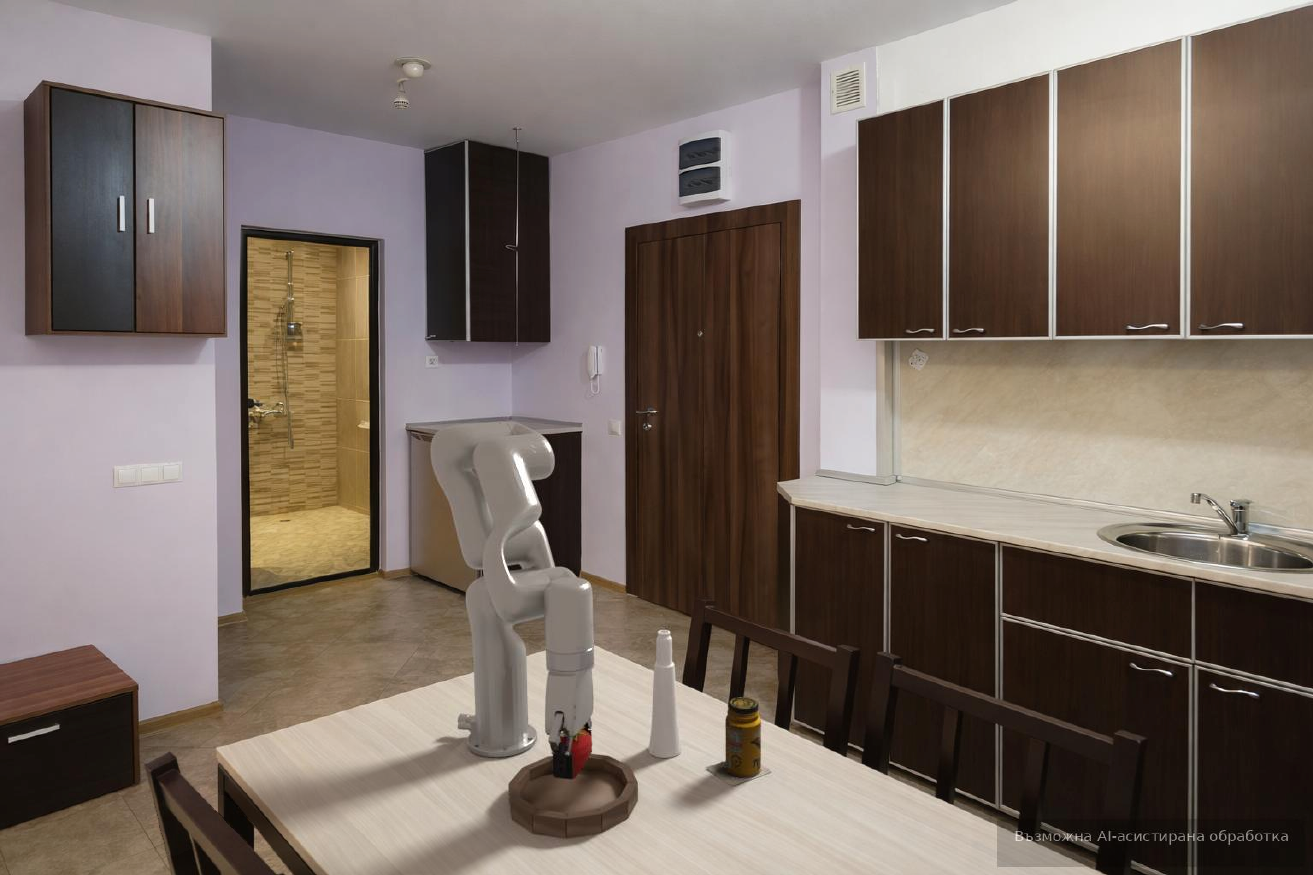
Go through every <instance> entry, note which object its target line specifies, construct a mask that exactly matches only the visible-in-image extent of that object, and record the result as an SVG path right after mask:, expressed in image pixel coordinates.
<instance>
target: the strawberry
mask: <svg viewBox="0 0 1313 875" xmlns="http://www.w3.org/2000/svg"><path fill="white" fill-rule="evenodd" d="M583 728H585V727H582V728H581V730H580V731H579V732H578V733H577V734H576V735H575V736H573V741H572V747H571V753H573V763H574V777H573V778H572V779H575V778H576V777H577V775H578V773H579V772H580V771H581V769H582V768H583V766H584V765H585V763H586V761H587V760H588V758H589V756H590V752H591V748H592V747H593V740H592V739H591V736H590V734H589V733H588V732H587V731H585V730H583ZM561 733H569V730H566V729H562V731H561ZM560 740H561V742H563V743H564V744H565V746H566V742H567V738H562V737H560ZM592 749H593V748H592ZM591 753H592V752H591Z"/></svg>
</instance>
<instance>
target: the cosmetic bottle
mask: <svg viewBox="0 0 1313 875" xmlns="http://www.w3.org/2000/svg"><path fill="white" fill-rule="evenodd" d="M655 641H656V643H655V645H656V646H655V650H656V653H655V654H656V655H655V656H656V659H655V660H656V662H654V665H653V681H652V683H653V684H652V687H653V688H652V690H653V691H652V710H651V711H652V714H651V727H650V736H649V744H648V748H647V749H648V753H649V754H650V755H651V756H652V757H653V756H654V757H655V758H661V759H670V758H674V757H676V756H677V757H678V756H679V755H681V753H682V751H683V748H682V746H683V745H682V741H681V735H680V727H679V718H678V702H677V701H678V700H677V684H676V683H677V682H676V669H675V668H676V666H675V663H674V662H673V638H672V636H671V631H670V630H668V629H660V630H658V631H657V637H656V639H655Z"/></svg>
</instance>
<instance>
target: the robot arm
mask: <svg viewBox="0 0 1313 875" xmlns="http://www.w3.org/2000/svg"><path fill="white" fill-rule="evenodd" d="M430 460H431V466H432V469H433V473H434V475H435V477H436V480H437V482H438V484H439V486H440V488H441V489H442V491H443V493H444V495H445V497H446V499H447V501H448V504H449V506H450V510H451V515H452V519H453V523H454V526H455V530H456V535H457V539H458V542H459V543H458V544H459V546H460V551H461V554H462V557H463V560H464V562H465V563H466V565H467V566H468V567H469V568H470V569H473V570H479V571H480V570H481V571H482V574H483V575H482V576H480V577H479V578H477V579H475V580H474V581H472V582H471V584H470V585H469V586H468V588H467V589H466V592H465V606H466V610H467V614H468V621H469V625H470V631H471V632H470V633H471V641H472V658H473V660H472V661H473V684H474V709H475V710H474V714H469V713H460V714H459V716H458V717H457V723H458V724H457V729H458V730H463V731H469V732H470V734H469V735H468V737H467V747H468V749H469V750H470V751H471V752H473V753H474V754H476V755H479V756H482V757H488V758H501V757H503V758H504V757H505V758H506V757H512V756H514V755H515V756H516V755H518V754H521V753H523V752H526V751H528V750H529V749H531V748H532V747H533V746H534V745H535V744H536V742H537V739H538V733H537V730H536V728H535V727H534V726H532V725H530V724H529V704H528V702H529V701H528V697H529V696H528V672H527V671H528V670H527V651H526V650H527V649H526V645H525V643H524V640H523V639H522V638H521V637H520V636H519V635H518V633H517V632H516V631H515V630H514V629H513V626H514V625H517V624H520V623H524V622H528V621H533V620H538V619H541V618H544V625H545V626H544V627H545V633H544V634H545V663H546V664H545V665H546V670H547V671H548V673H547V678H546V687H545V700H544V701H545V702H544V704H545V706H544V708H545V709H544V728H545V729H544V731H545V734H546V735H547V736H548V744H549V745H550V747H549V748H550V750H551V755H552V756H553V776H554V777H555V778H562V779H572V778H573V777H574V763H573V753H571V747H572V741H573V736H575V735H576V734H577V733H578V732H579V731H580V730H581V728H582V727H585V728H583V730H585V731H587V732H588V733H589V734H590V736H591V739H592V737H593V736H592V727H593V723H592V718H591V717H592V716H593V713H594V703H595V702H594V699H595V698H594V682H593V670H592V669H593V668H595V648H594V647H595V643H594V642H595V641H594V639H595V638H594V636H595V634H594V599H593V587H592V585H591V583H590V581H588V580H587V579H585V578H583V577H582V578H581V577H578V576H576V574H575V573H574V572H573V571H572V570H570V569H569V568H567V567H564V566H556V564H555V561H554V558H553V554H552V551H551V550H552V549H551V546H550V544H549V539H548V536H547V533H546V531H545V528H544V526H543V525H542V523H541V521H540V520H539V519H540V517H541V515H542V511H543V508H542V505H541V502H540V500H539V498H538V495H537V492H536V489H535V487H534V484H533V482H532V481H538V480H539V481H540V480H543V479H547V478H548V477H549V476H551V475H552V473H553V472H554V469H555V454H554V451H553V448H552V446H551V444H550V442H549V441H548V439H547V438H546V437H545V436H544V435H542V434H541V433H540V432H538V431H537V430H534V429H532V428H530V427H528V426H526V425H523V424H522V423H519V422H516V421H495V422H494V421H493V422H474V423H459V424H454V425H450V426H449V425H448V426H446V427H443V428H441V429H439V430H438V431H437V432H435V434H434V435H433V437H432V440H431V442H430ZM473 469H474V470H475V472H474V471H473ZM513 565H519V566H520V567H521V569H517V570H516V569H515V570H509V568H508V566H513ZM562 729H566V730H569V733H562ZM560 737H562V738H567V742H566V746H565V744H564V743H563V742H561V740H560ZM592 752H593V748H591V752H590V754H592Z"/></svg>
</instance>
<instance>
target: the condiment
mask: <svg viewBox="0 0 1313 875" xmlns="http://www.w3.org/2000/svg"><path fill="white" fill-rule="evenodd" d="M727 703H728V704H727V713H726V714H727V715H726V716H725V725H724V726H725V727H724V728H725V732H724V733H725V738H724V739H725V740H724V742H725V749H724V750H725V761H720V762H718V763H715V764H712V765H708V766H706V769H707V770H709V771H710V772H711V773H712V774H714V775H715V776H716V777H718V778H719V779H721V781H724V782H726V784H728V785H730V786H731V787H734V786H736V785H739V784H741V783H745V782H747V781H751V780H753V779H757V778H758V777H762V776H765V775H767V774H770V773H771V772H772V771H771V770H770V769H768V768H766V767H764V766H763V765H761V764H762V762H761V761H762V756H761V755H762V750H761V749H762V738H761V737H762V734H761V733H762V728H761V727H762V720H761V717H760V713H759V711H760V710H759V707H760V705H759V703H758V701H757V700H755V699H754V698H750V697H746V696H744V697H743V696H739V697H733V698H731V699H730V700H729V701H728V702H727Z"/></svg>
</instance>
